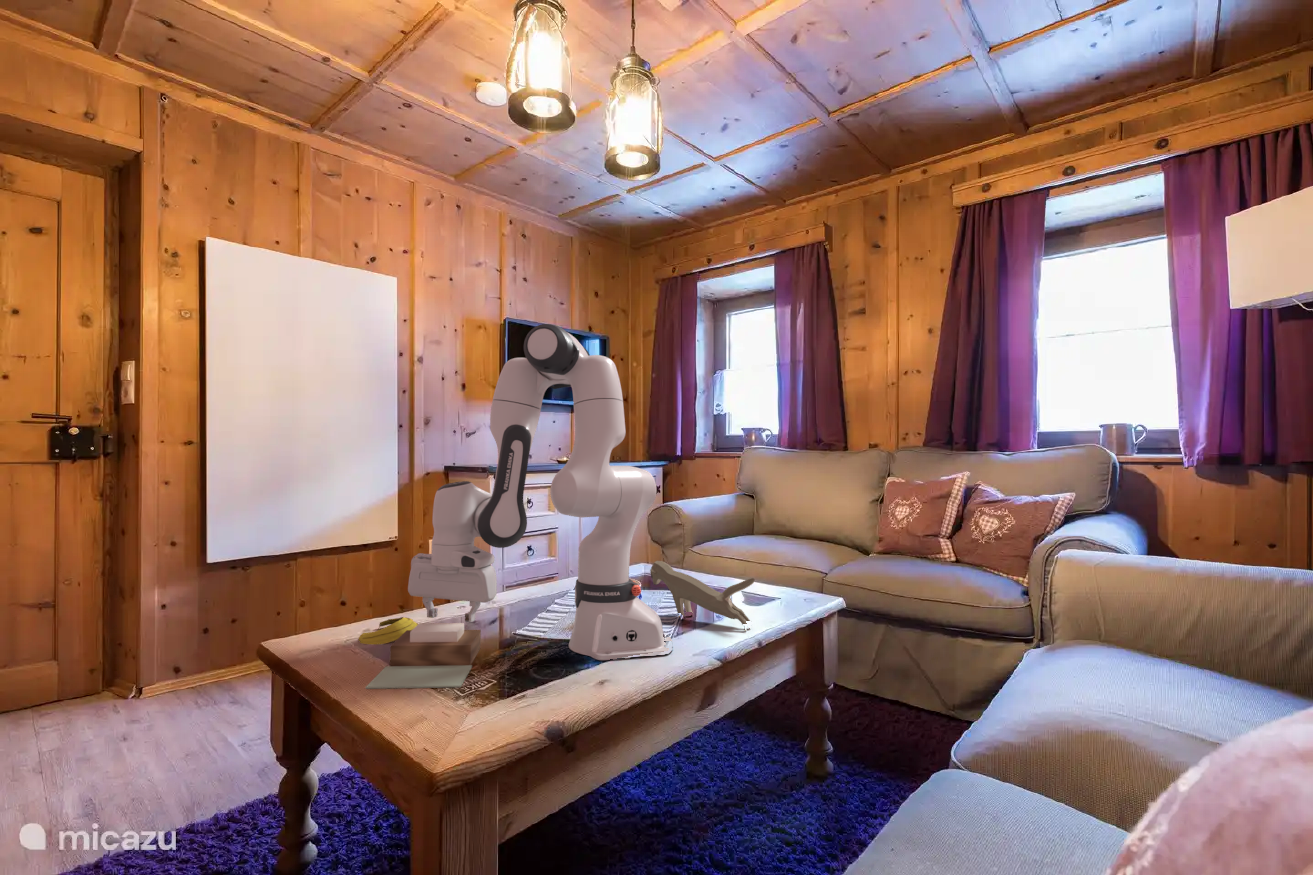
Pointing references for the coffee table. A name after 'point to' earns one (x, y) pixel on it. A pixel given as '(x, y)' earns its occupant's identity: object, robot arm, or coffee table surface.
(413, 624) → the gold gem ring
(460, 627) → the tile
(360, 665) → the coffee table surface
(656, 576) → the sculpture
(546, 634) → the coffee table surface
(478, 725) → the coffee table surface
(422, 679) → the mat
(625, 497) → the robot arm
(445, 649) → the wooden block
